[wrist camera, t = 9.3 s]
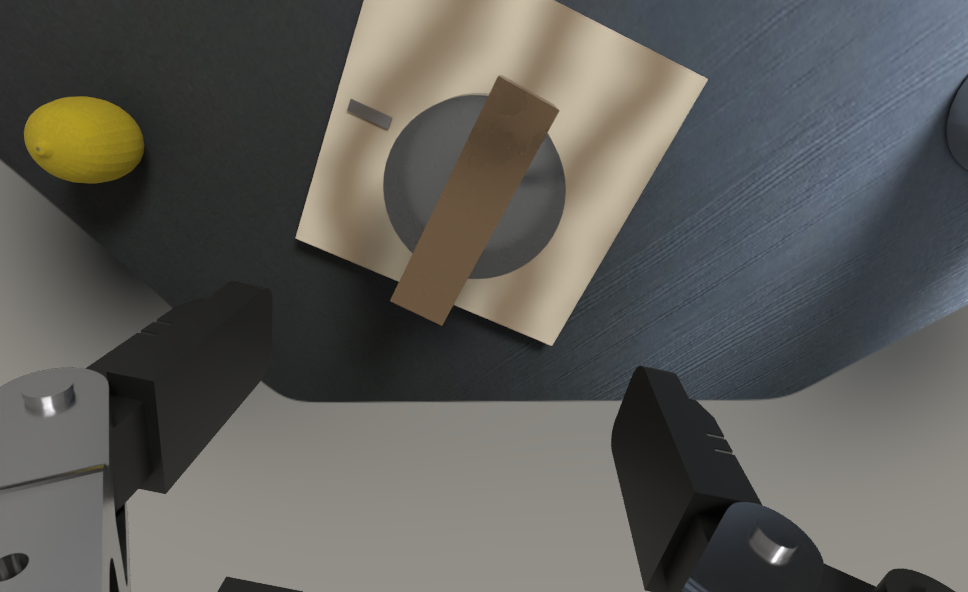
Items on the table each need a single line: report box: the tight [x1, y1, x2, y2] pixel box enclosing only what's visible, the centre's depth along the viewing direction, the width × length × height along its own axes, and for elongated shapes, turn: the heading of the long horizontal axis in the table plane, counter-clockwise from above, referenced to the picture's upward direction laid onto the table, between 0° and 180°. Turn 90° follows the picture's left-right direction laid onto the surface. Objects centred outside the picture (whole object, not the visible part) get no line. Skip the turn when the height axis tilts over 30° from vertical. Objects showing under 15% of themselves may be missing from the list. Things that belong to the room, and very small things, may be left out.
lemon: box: [24, 96, 144, 183], centre depth 34 cm, size 6×6×8 cm
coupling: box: [383, 75, 566, 326], centre depth 29 cm, size 13×10×12 cm
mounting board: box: [296, 0, 708, 346], centre depth 36 cm, size 22×22×2 cm
